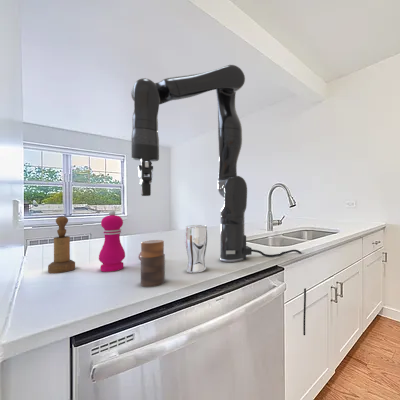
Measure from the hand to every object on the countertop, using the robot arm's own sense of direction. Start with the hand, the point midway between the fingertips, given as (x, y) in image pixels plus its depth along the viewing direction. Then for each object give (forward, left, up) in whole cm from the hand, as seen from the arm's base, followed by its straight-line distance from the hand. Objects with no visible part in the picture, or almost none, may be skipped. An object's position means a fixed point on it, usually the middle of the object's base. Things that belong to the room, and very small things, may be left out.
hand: (145, 195), depth 81 cm
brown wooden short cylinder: (-1, +11, -17) cm, 20 cm away
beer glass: (-14, +4, -25) cm, 29 cm away
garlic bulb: (-1, -16, -25) cm, 30 cm away
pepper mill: (+10, -12, -25) cm, 30 cm away
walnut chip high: (-1, +11, -21) cm, 24 cm away
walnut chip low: (-1, +11, -25) cm, 28 cm away
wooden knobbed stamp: (+24, -19, -25) cm, 39 cm away
